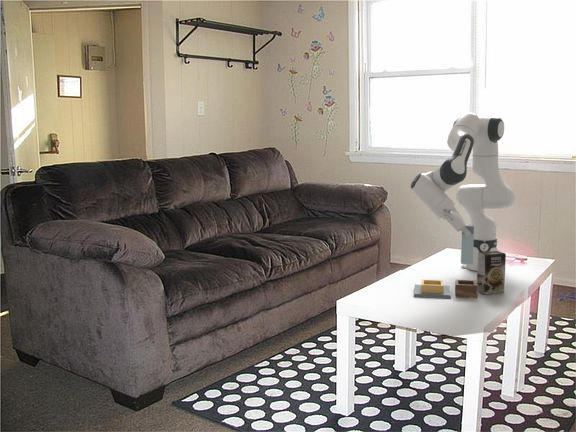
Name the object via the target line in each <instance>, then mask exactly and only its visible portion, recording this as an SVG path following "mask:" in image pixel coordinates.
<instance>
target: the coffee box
mask: <svg viewBox="0 0 576 432" xmlns="http://www.w3.org/2000/svg"><path fill="white" fill-rule="evenodd" d="M506 256H507V254H506V253H505V252H502V251H500V252H498V251H490V252H478V270H477V271H476V272H477V273H476V283H477V292H479V293H481V294H483V295H490V294H491V295H492V294H501V293H502V294H504V293H505V280H506V258H507V257H506Z"/></svg>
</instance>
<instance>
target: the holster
mask: <svg viewBox="0 0 576 432" xmlns="http://www.w3.org/2000/svg"><path fill="white" fill-rule="evenodd" d="M454 295H455V298H471V299H477V298H478V291H477V279H475V280H474V279H455V280H454Z"/></svg>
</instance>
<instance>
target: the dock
mask: <svg viewBox="0 0 576 432" xmlns="http://www.w3.org/2000/svg"><path fill="white" fill-rule="evenodd" d="M414 296H419V297H418V298H433V297H434V298H436V299H438V298H439V299H451V287H450V285H444V280H443V279H421V284H414V291H413V297H414Z"/></svg>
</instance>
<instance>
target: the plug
mask: <svg viewBox="0 0 576 432" xmlns="http://www.w3.org/2000/svg"><path fill="white" fill-rule="evenodd" d="M464 225H465V227H466V228H467V229H468V230H469V231H470V232H471V234H470V235H469V236H467V235H466V234H465V233H464V232H462V231H461V230H460V231H461V232H460V233H461V236H460V238H461V239H460V264H461V265H462V264H473V242H474V225H473V224H471V223H470V224H467V223H465V224H464Z"/></svg>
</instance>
